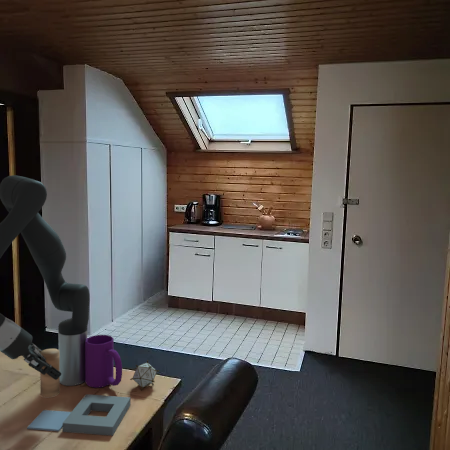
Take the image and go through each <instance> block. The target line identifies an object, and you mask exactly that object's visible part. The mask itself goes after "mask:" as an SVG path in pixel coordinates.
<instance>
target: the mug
mask: <svg viewBox="0 0 450 450" xmlns="http://www.w3.org/2000/svg"><path fill="white" fill-rule="evenodd" d="M114 342H115V341H114V337H112V336H111V335H109V334H96V335H92V336H90V337H87V339H86V341H85V380H86V381H85V384H86V385H87V386H88V387H91V388H95V389H97V388H98V389H101V388H104V387H106V386H109V385H110V386H118V385H119V384H120V383H121V382H122V378H123V363H122V358H121V356H120V354H119V352H118V351H117V350H116V349H114V345H115V344H114ZM114 365H115V366H114ZM114 367H115V377H114Z"/></svg>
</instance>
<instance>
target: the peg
mask: <svg viewBox="0 0 450 450" xmlns="http://www.w3.org/2000/svg"><path fill="white" fill-rule="evenodd" d="M40 353H41V354H42V355H43V356H44V357H45V358H46V361H47V362H48V363H49V364H51V365H52V366H53V367H54V368H56V369H57V370H58V371H60V353H59V348H58V349H57V348H46V349H42V351H41V352H40ZM41 360H42V359H41ZM45 367H46V366H43V367H42V368H43V369H44V368H45ZM39 374H40V377H39V378H40V382H39V383H40V384H39V385H40V386H39V387H40V396H41V397H42V398H47V399H48V398H55V397H57V396H58V395H59V394H60V393H61V392H60V389H61V387H60V384H61V383H60V377H59V378H58V379H57V380H55V379H54V378H52V377H51V376H49V375H48V374H45V375H43V374H42V373H40V372H39Z"/></svg>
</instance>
